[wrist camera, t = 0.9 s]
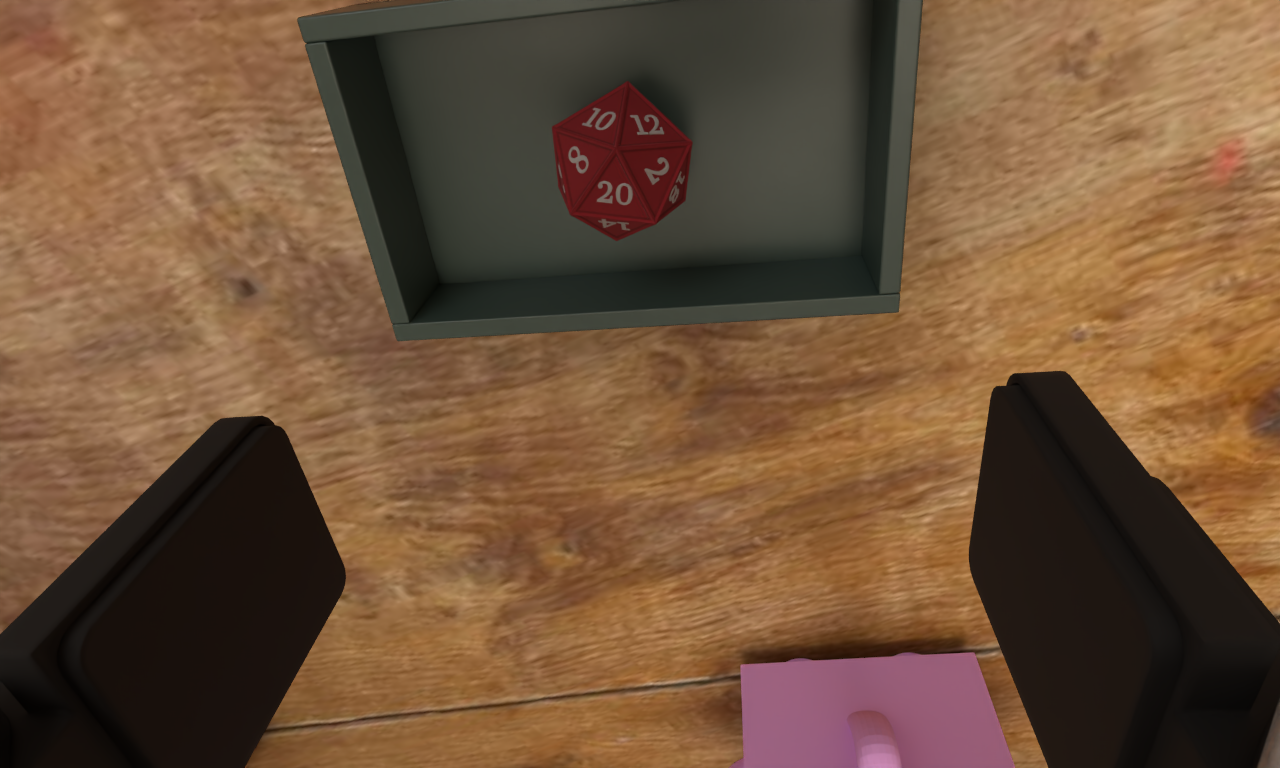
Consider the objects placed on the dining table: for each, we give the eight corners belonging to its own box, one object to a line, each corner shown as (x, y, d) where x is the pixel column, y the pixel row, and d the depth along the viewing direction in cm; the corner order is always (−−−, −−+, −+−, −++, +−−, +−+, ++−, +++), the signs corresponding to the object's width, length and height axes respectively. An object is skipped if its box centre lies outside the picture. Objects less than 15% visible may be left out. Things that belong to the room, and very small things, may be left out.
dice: (565, 211, 24) (539, 260, 20) (569, 61, 21) (541, 87, 18) (682, 224, 24) (676, 275, 20) (700, 75, 21) (697, 104, 18)
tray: (351, 5, 22) (295, 17, 19) (896, -61, 20) (928, -58, 17) (431, 295, 26) (396, 341, 23) (877, 266, 24) (899, 312, 21)
